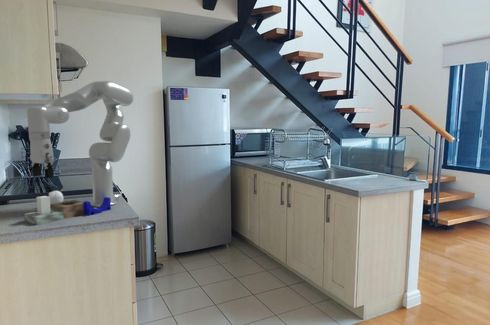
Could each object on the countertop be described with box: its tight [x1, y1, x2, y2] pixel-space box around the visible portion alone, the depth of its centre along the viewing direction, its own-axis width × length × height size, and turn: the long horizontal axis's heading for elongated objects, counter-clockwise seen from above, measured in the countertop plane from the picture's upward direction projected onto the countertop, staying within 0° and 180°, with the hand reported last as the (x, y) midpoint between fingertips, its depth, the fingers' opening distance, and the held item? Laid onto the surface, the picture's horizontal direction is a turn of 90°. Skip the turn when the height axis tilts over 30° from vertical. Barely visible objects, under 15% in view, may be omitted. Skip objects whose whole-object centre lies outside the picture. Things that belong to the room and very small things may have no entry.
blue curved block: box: [82, 197, 112, 216], centre depth 161 cm, size 12×4×6 cm, turn 147°
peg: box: [35, 195, 51, 215], centre depth 147 cm, size 4×4×10 cm
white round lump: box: [48, 190, 64, 207], centre depth 171 cm, size 8×8×8 cm
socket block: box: [23, 199, 85, 226], centre depth 152 cm, size 22×10×5 cm, turn 147°
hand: (43, 176), depth 146 cm, fingers open, 9 cm apart
